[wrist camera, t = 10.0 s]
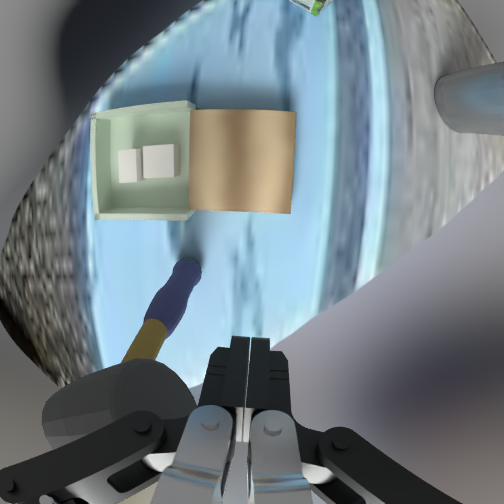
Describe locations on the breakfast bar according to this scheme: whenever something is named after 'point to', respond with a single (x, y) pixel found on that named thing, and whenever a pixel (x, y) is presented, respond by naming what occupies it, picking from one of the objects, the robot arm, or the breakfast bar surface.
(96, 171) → the tray
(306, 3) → the syrup box
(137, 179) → the tile
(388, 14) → the breakfast bar surface
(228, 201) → the board
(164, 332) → the rubber mallet
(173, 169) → the tile
